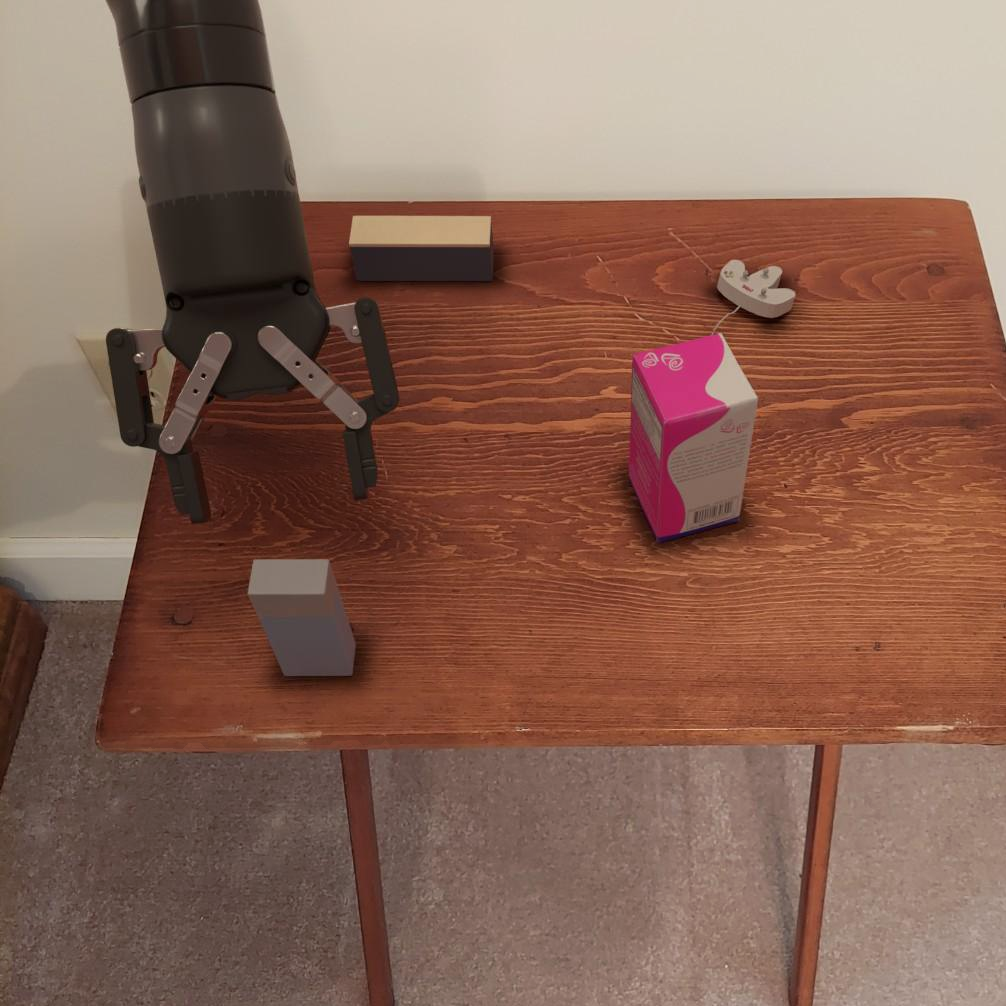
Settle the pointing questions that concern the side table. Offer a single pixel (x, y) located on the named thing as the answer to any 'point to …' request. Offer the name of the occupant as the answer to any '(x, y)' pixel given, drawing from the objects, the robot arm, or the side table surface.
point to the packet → (303, 616)
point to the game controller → (755, 290)
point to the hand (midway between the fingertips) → (282, 510)
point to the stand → (422, 248)
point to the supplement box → (690, 436)
